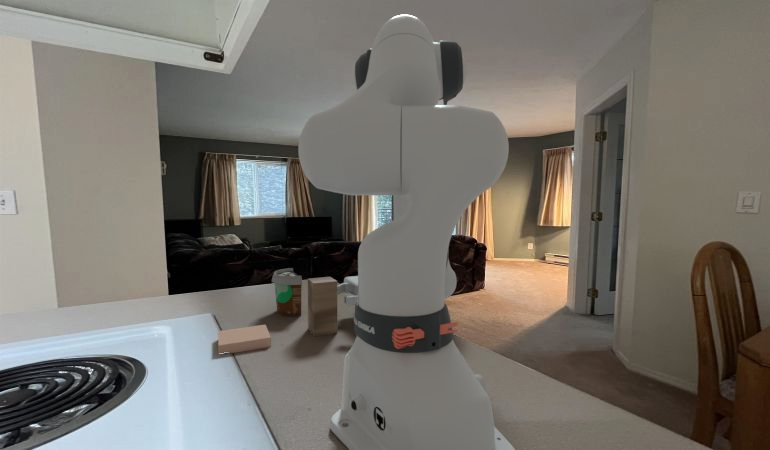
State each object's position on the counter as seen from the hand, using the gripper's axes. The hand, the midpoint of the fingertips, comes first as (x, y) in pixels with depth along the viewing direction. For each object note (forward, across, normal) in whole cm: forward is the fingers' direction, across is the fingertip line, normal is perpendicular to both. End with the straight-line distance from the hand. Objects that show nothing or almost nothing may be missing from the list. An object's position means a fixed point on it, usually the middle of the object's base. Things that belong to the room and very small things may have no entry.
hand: (338, 295), depth 76 cm
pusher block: (+4, 0, +7) cm, 8 cm away
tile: (+15, 0, +6) cm, 16 cm away
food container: (+8, -17, +8) cm, 20 cm away
